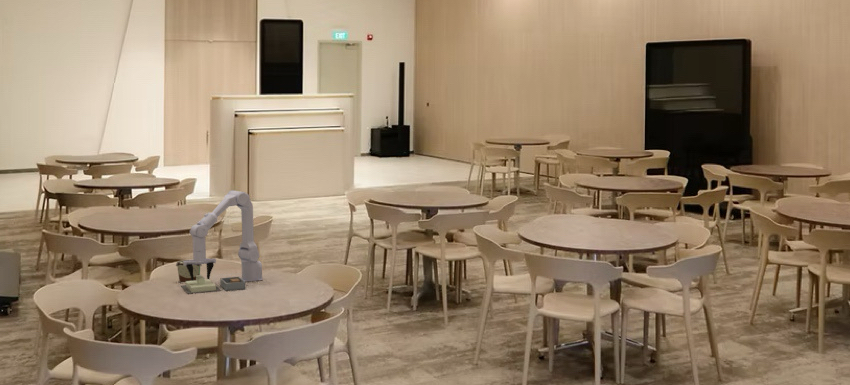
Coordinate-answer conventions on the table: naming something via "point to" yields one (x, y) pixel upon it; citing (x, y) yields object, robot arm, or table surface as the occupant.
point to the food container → (184, 272)
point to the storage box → (232, 283)
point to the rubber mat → (197, 292)
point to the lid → (200, 284)
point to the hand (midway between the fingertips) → (200, 279)
